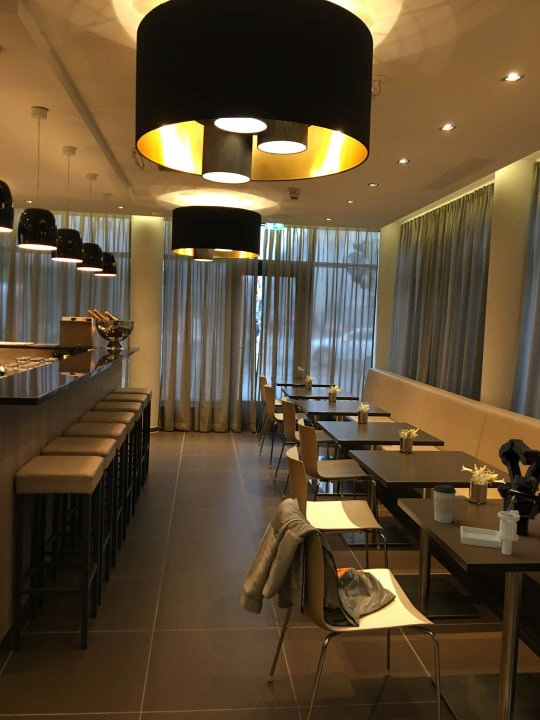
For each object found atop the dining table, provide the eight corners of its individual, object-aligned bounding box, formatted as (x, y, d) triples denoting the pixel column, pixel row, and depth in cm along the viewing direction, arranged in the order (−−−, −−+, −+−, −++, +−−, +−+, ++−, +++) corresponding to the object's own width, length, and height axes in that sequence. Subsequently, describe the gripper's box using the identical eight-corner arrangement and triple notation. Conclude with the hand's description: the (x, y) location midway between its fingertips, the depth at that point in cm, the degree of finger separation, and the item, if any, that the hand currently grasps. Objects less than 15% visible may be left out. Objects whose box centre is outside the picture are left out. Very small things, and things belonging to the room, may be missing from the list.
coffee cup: (456, 520, 241) (458, 484, 241) (451, 525, 234) (453, 488, 233) (434, 516, 246) (436, 480, 245) (429, 521, 238) (431, 484, 238)
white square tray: (460, 532, 225) (460, 525, 225) (497, 537, 222) (497, 530, 222) (461, 543, 212) (462, 536, 212) (501, 548, 209) (501, 541, 208)
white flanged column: (521, 556, 202) (524, 513, 201) (503, 557, 200) (506, 514, 200) (509, 549, 208) (511, 507, 208) (491, 549, 207) (494, 508, 206)
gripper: (501, 462, 218) (485, 495, 210) (552, 472, 204) (537, 508, 197) (509, 480, 223) (494, 513, 216) (560, 491, 209) (545, 527, 202)
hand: (516, 515), depth 208 cm, fingers open, 9 cm apart
